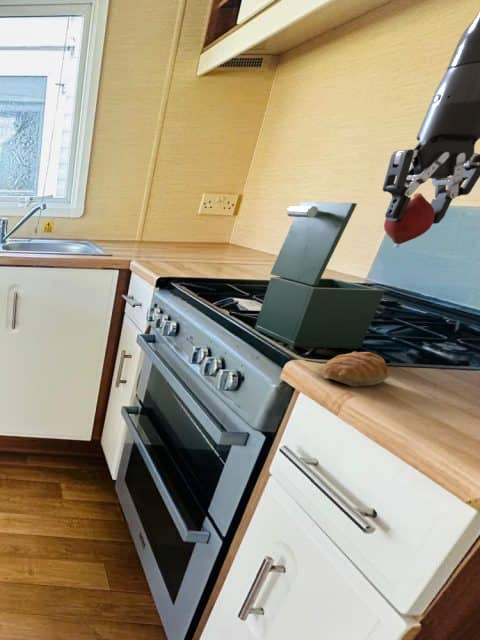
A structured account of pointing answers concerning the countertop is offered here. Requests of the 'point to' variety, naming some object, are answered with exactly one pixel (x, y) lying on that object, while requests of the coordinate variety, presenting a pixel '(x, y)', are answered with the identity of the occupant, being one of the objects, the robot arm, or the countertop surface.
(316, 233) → the lid
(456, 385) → the countertop surface
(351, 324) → the box
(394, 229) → the onion
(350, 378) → the pastry
